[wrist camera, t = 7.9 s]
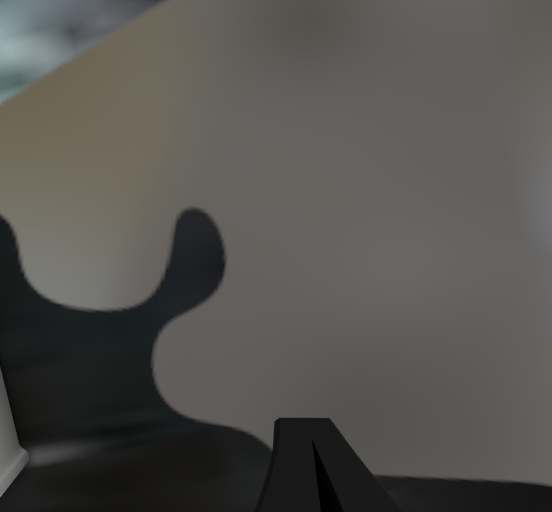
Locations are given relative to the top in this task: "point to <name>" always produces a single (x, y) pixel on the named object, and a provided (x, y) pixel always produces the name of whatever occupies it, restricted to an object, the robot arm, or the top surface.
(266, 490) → the robot arm
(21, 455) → the tube
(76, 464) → the top surface
